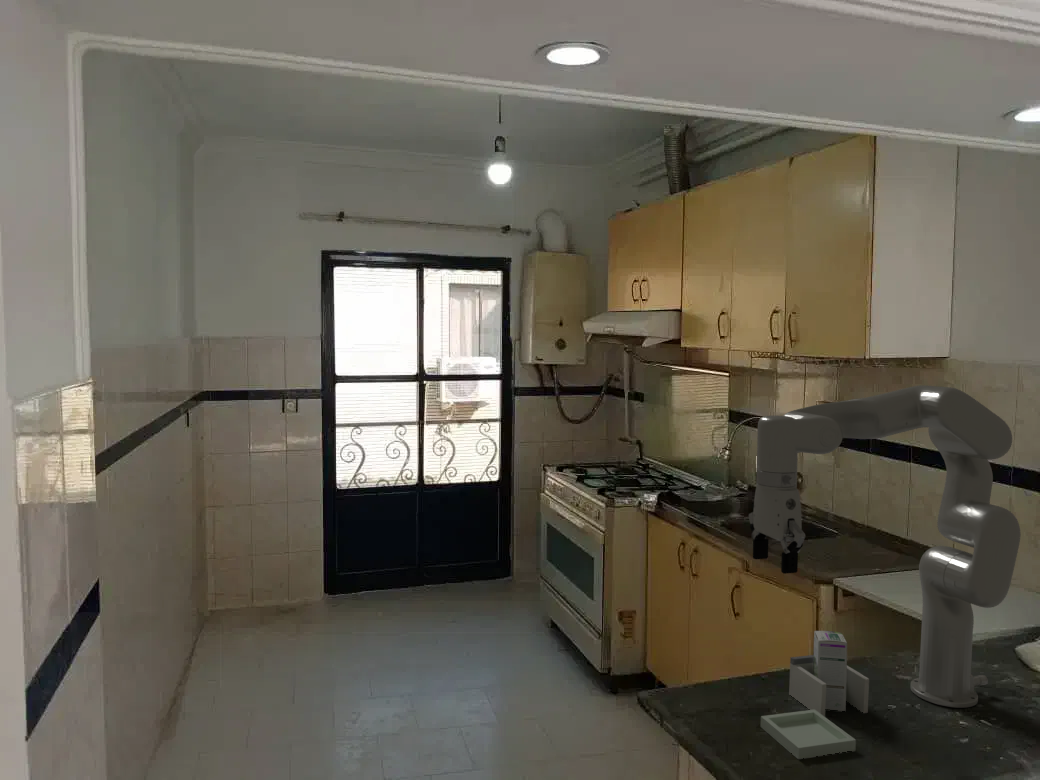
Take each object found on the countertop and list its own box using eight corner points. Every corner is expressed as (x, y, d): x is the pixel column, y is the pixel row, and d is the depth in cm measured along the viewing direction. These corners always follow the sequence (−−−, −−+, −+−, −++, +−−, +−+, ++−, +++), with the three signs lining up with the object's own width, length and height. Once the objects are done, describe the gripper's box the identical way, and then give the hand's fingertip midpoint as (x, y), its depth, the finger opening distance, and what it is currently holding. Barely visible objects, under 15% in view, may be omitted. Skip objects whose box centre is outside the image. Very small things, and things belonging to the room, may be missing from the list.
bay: (833, 689, 166) (835, 652, 165) (867, 712, 156) (869, 673, 155) (789, 695, 163) (790, 657, 163) (820, 718, 153) (822, 678, 152)
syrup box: (846, 712, 156) (849, 642, 155) (815, 709, 157) (818, 639, 156) (840, 699, 161) (843, 631, 160) (810, 696, 163) (813, 629, 162)
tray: (814, 719, 153) (814, 709, 152) (855, 751, 141) (855, 739, 141) (760, 726, 149) (760, 716, 149) (798, 759, 138) (798, 748, 138)
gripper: (821, 486, 143) (818, 577, 144) (768, 471, 160) (766, 552, 161) (786, 488, 141) (783, 580, 142) (735, 472, 158) (734, 555, 159)
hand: (774, 565), depth 152 cm, fingers open, 9 cm apart
